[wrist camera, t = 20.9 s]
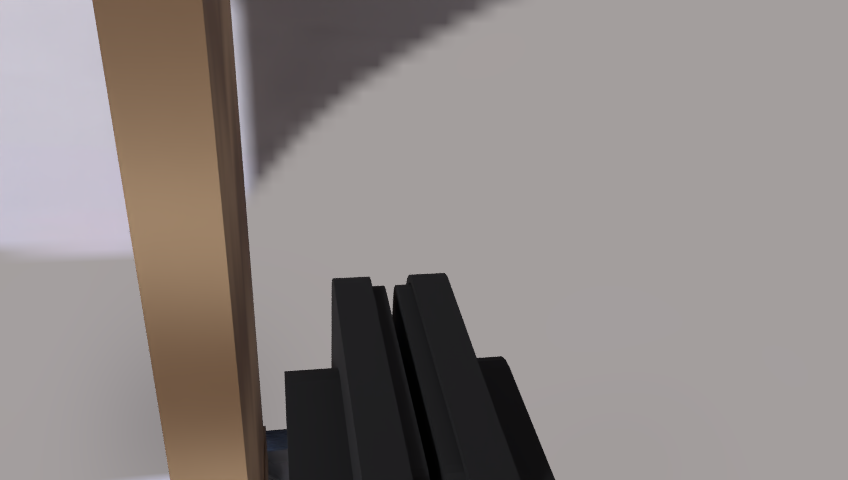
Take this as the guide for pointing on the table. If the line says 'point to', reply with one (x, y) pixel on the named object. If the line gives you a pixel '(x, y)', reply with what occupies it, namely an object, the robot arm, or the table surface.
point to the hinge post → (277, 454)
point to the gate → (188, 226)
